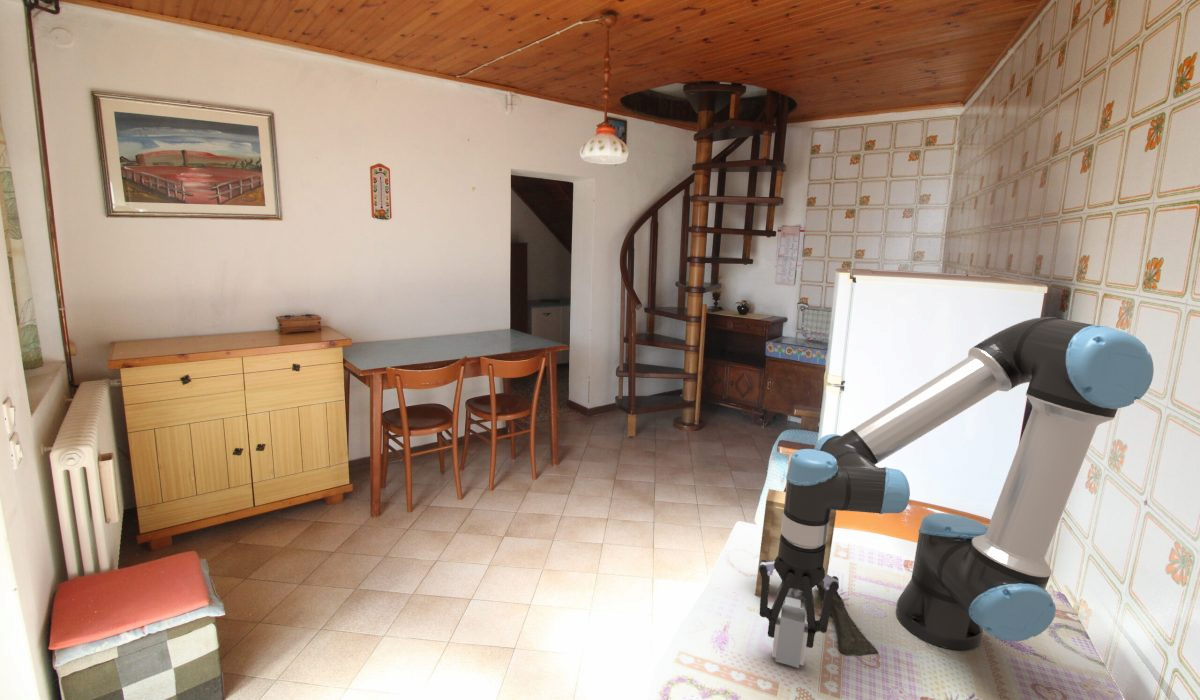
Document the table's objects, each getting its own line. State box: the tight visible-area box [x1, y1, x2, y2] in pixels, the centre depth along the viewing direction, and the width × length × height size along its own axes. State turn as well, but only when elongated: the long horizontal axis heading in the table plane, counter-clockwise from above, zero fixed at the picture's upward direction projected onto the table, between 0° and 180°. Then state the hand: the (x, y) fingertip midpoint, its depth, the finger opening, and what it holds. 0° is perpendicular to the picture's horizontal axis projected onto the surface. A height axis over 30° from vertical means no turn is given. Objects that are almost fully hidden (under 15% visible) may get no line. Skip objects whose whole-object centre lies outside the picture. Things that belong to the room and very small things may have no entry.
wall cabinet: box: [754, 488, 837, 597], centre depth 122 cm, size 14×7×22 cm, turn 69°
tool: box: [815, 580, 879, 657], centre depth 117 cm, size 21×8×3 cm, turn 2°
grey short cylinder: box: [786, 588, 805, 604], centre depth 124 cm, size 5×5×3 cm
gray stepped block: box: [775, 597, 806, 669], centre depth 110 cm, size 4×17×9 cm, turn 159°
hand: (787, 655), depth 105 cm, fingers closed on gray stepped block, 4 cm apart
